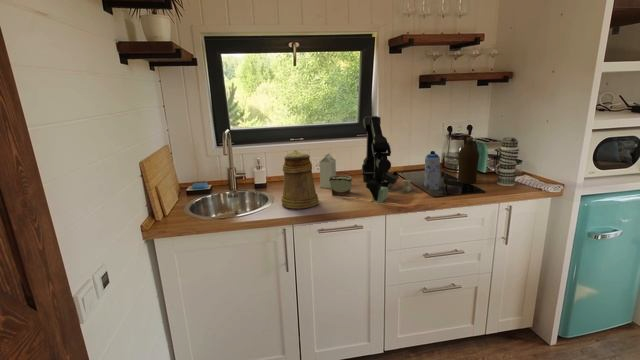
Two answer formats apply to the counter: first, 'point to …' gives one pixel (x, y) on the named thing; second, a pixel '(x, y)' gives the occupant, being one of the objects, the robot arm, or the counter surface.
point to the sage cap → (381, 195)
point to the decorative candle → (507, 161)
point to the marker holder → (404, 188)
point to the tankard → (298, 182)
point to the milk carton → (327, 170)
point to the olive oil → (468, 163)
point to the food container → (340, 185)
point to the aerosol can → (432, 171)
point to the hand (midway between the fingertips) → (380, 198)
